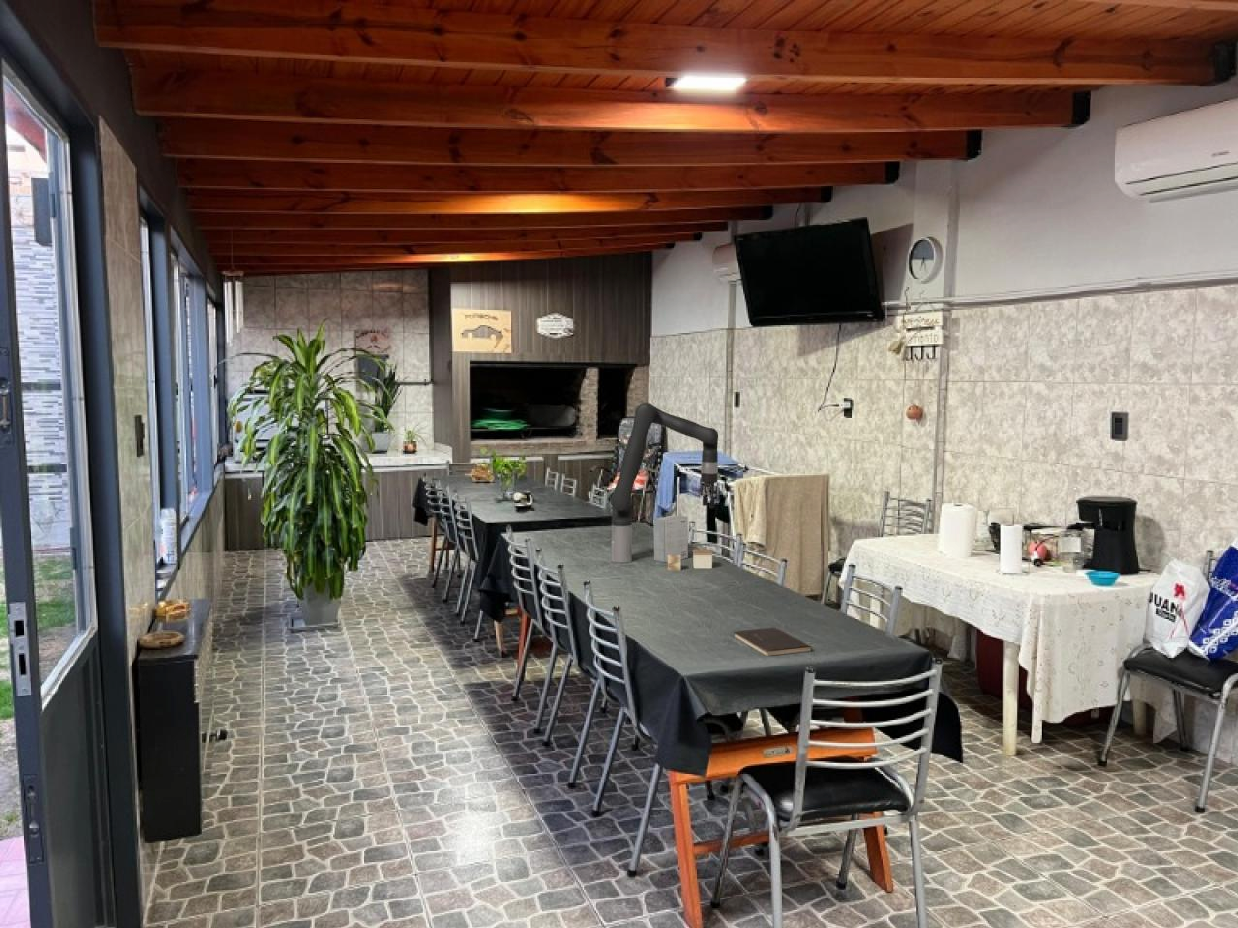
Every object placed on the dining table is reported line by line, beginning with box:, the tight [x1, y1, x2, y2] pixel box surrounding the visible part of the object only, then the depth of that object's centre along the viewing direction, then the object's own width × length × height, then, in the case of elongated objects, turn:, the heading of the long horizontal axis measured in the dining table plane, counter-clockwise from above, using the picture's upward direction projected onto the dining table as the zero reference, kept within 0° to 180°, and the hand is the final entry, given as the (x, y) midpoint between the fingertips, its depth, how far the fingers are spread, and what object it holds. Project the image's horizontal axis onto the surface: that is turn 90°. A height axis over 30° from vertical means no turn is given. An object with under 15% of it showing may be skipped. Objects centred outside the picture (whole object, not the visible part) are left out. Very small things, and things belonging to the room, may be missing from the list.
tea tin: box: [692, 549, 713, 569], centre depth 420 cm, size 8×8×7 cm
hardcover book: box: [733, 627, 813, 657], centre depth 300 cm, size 16×23×2 cm
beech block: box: [667, 555, 681, 571], centre depth 415 cm, size 6×6×6 cm
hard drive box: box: [653, 514, 689, 563], centre depth 436 cm, size 16×8×20 cm, turn 130°
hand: (708, 506), depth 426 cm, fingers open, 8 cm apart
